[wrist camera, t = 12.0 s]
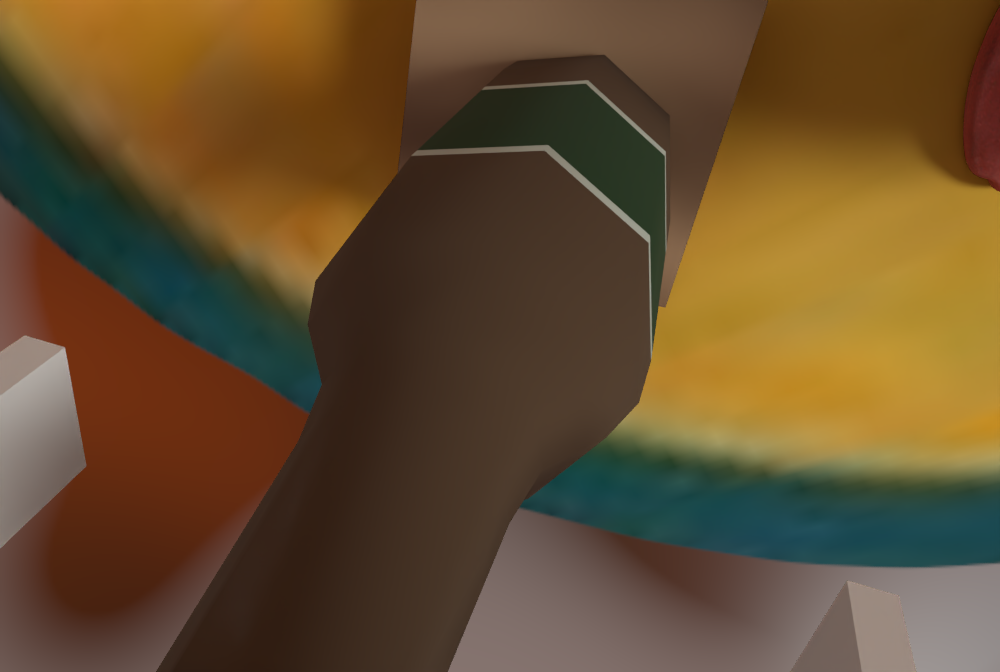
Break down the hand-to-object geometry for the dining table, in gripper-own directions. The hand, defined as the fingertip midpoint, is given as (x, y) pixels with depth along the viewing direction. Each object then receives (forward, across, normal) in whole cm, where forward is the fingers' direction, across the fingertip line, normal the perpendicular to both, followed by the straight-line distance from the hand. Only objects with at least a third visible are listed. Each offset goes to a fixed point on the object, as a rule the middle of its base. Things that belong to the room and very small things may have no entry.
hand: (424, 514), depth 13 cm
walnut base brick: (+23, -1, +1) cm, 23 cm away
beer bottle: (+18, -1, 0) cm, 18 cm away
